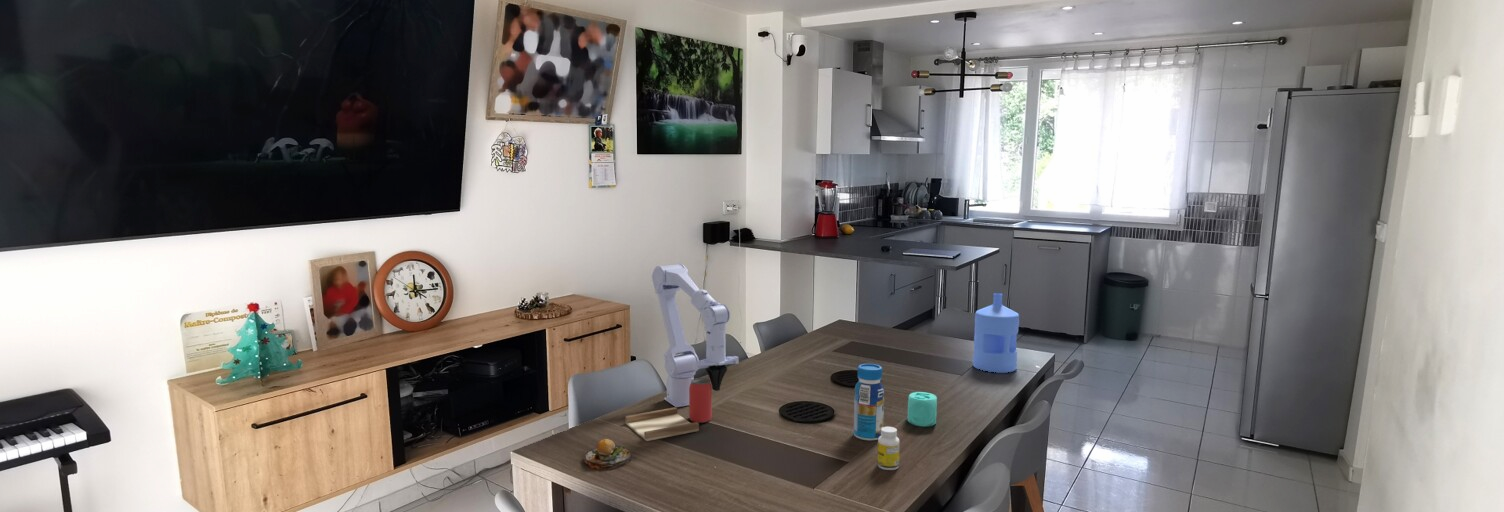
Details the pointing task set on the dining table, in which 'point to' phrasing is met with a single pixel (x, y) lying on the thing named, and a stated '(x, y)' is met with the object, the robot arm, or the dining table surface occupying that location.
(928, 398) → the turquoise short cylinder
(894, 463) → the supplement bottle
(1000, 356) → the water jug
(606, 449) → the food on plate
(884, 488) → the dining table surface
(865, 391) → the beverage bottle
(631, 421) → the birch tray
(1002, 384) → the dining table surface
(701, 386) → the beer can
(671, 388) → the robot arm
